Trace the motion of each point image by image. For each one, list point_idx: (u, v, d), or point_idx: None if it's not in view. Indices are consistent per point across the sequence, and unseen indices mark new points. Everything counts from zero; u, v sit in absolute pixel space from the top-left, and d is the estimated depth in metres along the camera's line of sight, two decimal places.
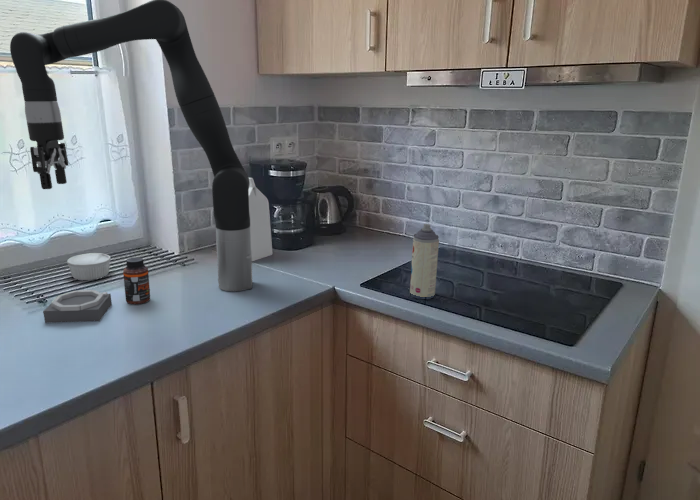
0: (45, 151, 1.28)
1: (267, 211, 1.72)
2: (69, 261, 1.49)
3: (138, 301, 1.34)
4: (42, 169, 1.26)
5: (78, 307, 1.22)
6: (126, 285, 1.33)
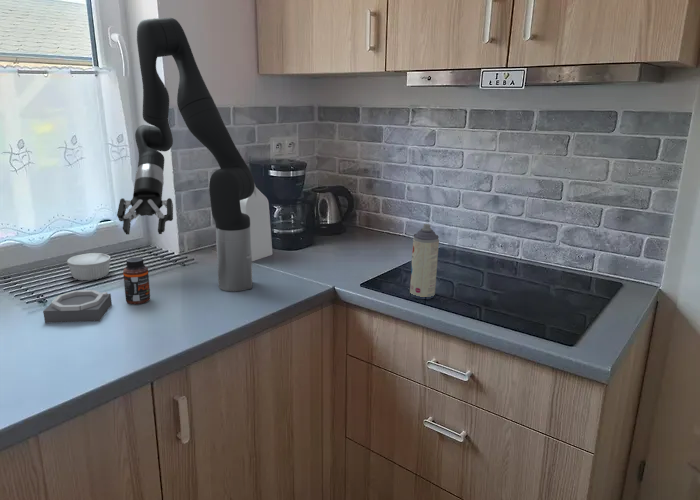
0: (131, 203, 1.46)
1: (267, 211, 1.72)
2: (69, 261, 1.49)
3: (138, 301, 1.34)
4: None
5: (78, 307, 1.22)
6: (126, 285, 1.33)
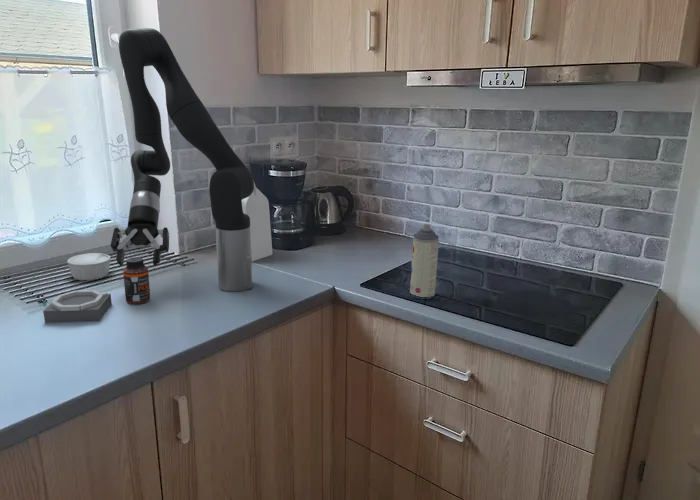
0: (125, 232, 1.40)
1: (267, 211, 1.72)
2: (69, 261, 1.49)
3: (138, 301, 1.34)
4: None
5: (78, 307, 1.22)
6: (126, 285, 1.33)
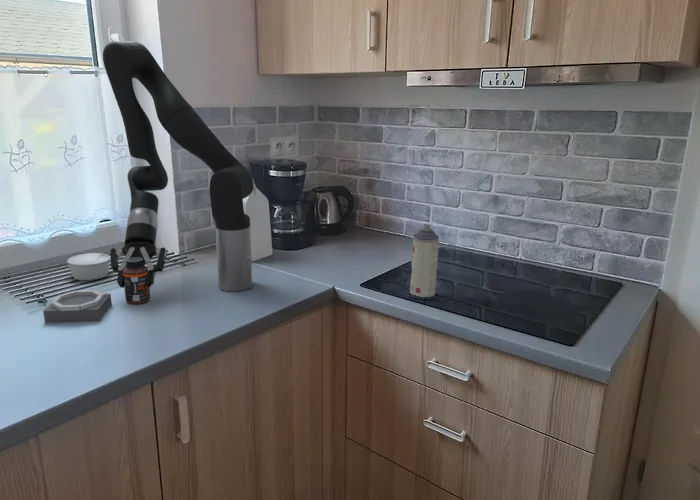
0: (123, 251, 1.37)
1: (267, 211, 1.72)
2: (69, 261, 1.49)
3: (138, 301, 1.34)
4: None
5: (78, 307, 1.22)
6: (125, 285, 1.33)
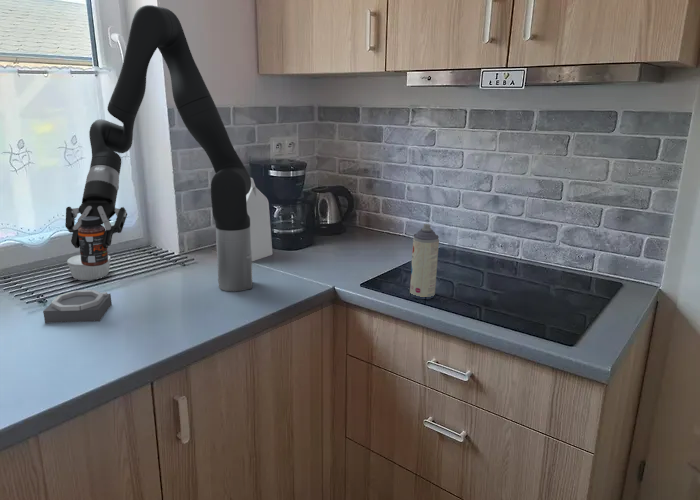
0: (79, 210, 1.29)
1: (267, 211, 1.72)
2: (69, 261, 1.49)
3: (94, 263, 1.26)
4: None
5: (78, 307, 1.22)
6: (80, 245, 1.25)
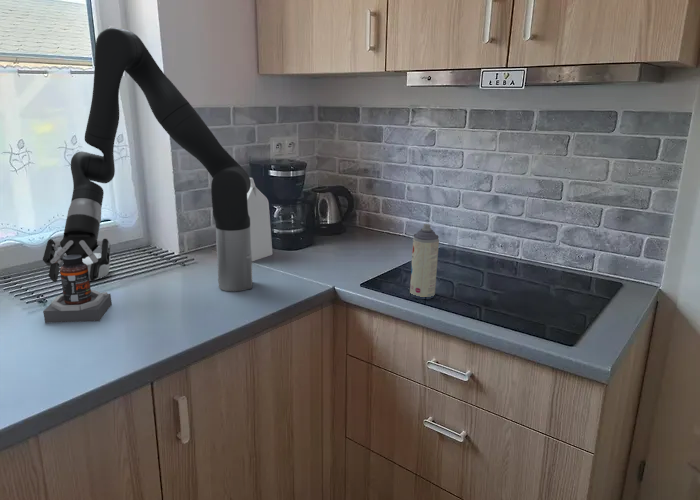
0: (60, 244, 1.27)
1: (267, 211, 1.72)
2: None
3: (77, 301, 1.25)
4: None
5: (78, 307, 1.22)
6: (63, 284, 1.24)
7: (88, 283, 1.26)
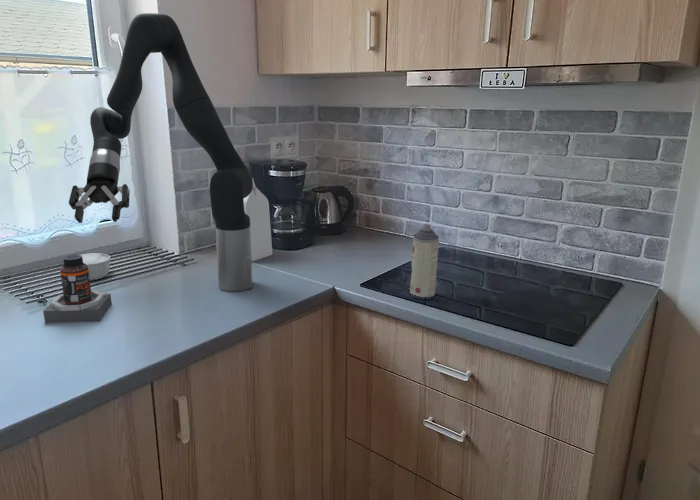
0: (84, 190, 1.38)
1: (267, 211, 1.72)
2: None
3: (77, 302, 1.25)
4: None
5: (78, 307, 1.22)
6: (63, 284, 1.24)
7: (88, 283, 1.26)
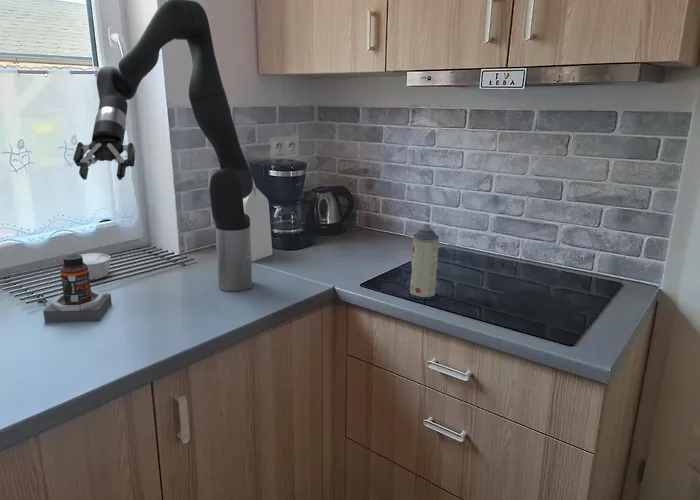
0: (89, 147, 1.37)
1: (267, 211, 1.72)
2: None
3: (77, 302, 1.25)
4: None
5: (78, 307, 1.22)
6: (63, 284, 1.24)
7: (88, 283, 1.26)
